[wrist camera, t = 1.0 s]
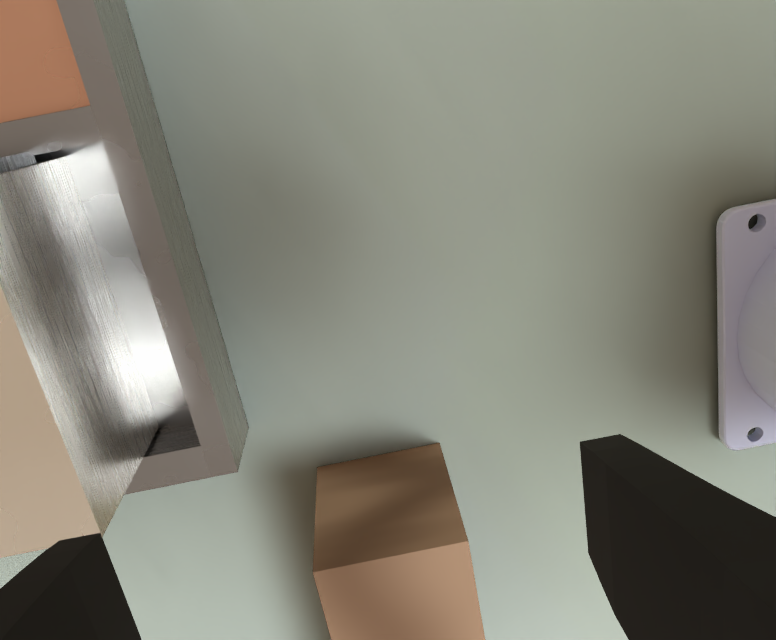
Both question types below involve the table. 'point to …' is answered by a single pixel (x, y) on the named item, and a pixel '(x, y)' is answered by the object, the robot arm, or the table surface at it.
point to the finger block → (393, 550)
